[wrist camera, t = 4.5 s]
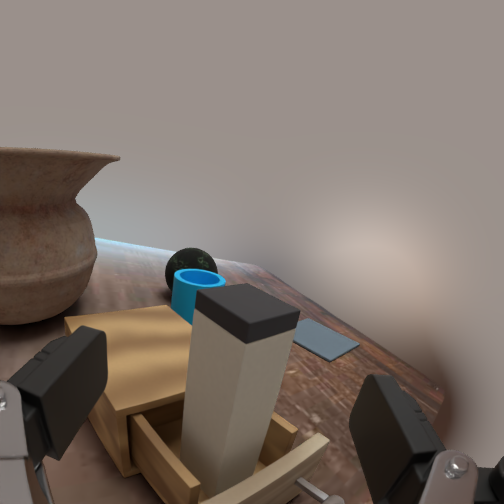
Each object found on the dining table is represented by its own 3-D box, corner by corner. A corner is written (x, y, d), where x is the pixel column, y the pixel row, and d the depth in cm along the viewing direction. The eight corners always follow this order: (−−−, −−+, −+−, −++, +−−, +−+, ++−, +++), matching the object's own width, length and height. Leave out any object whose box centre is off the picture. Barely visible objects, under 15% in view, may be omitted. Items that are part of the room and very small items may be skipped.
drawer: (342, 513, 19) (375, 467, 18) (241, 593, 11) (262, 568, 10) (208, 409, 31) (216, 358, 30) (110, 441, 23) (104, 386, 22)
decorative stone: (159, 287, 65) (164, 240, 62) (206, 289, 69) (212, 244, 67) (166, 308, 56) (172, 254, 54) (220, 309, 60) (228, 258, 58)
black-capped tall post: (251, 481, 21) (301, 309, 18) (213, 502, 19) (249, 323, 15) (216, 449, 25) (247, 282, 21) (179, 465, 22) (196, 289, 18)
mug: (160, 324, 50) (164, 276, 48) (183, 308, 57) (188, 265, 55) (229, 348, 47) (238, 298, 45) (246, 328, 54) (254, 283, 53)
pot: (-102, 343, 20) (-120, 151, 15) (-31, 265, 50) (-28, 148, 44) (112, 368, 35) (125, 155, 30) (106, 274, 65) (118, 156, 59)
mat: (359, 345, 54) (359, 343, 54) (329, 362, 47) (330, 360, 47) (308, 320, 62) (308, 318, 62) (273, 330, 55) (274, 328, 55)
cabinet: (235, 434, 29) (249, 369, 27) (124, 478, 20) (115, 410, 19) (162, 363, 39) (166, 304, 37) (70, 382, 30) (64, 317, 29)
